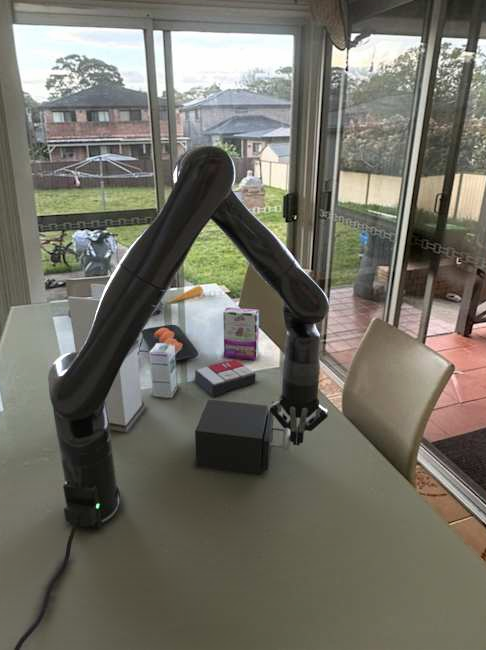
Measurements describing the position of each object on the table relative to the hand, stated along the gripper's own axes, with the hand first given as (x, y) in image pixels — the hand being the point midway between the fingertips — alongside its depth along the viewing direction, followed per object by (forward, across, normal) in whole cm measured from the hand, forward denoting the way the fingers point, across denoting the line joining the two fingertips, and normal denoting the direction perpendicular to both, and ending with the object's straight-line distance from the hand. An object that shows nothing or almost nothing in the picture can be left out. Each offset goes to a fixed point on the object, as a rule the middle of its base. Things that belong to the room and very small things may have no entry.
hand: (296, 442), depth 99 cm
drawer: (+4, -10, 0) cm, 11 cm away
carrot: (+5, -56, +101) cm, 115 cm away
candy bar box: (+5, -21, +49) cm, 53 cm away
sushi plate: (+5, -54, +47) cm, 71 cm away
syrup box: (+5, -38, +22) cm, 45 cm away
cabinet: (+5, -14, 0) cm, 15 cm away
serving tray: (+5, -79, +78) cm, 111 cm away
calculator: (+5, -23, +31) cm, 39 cm away
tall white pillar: (+5, -48, +8) cm, 48 cm away
